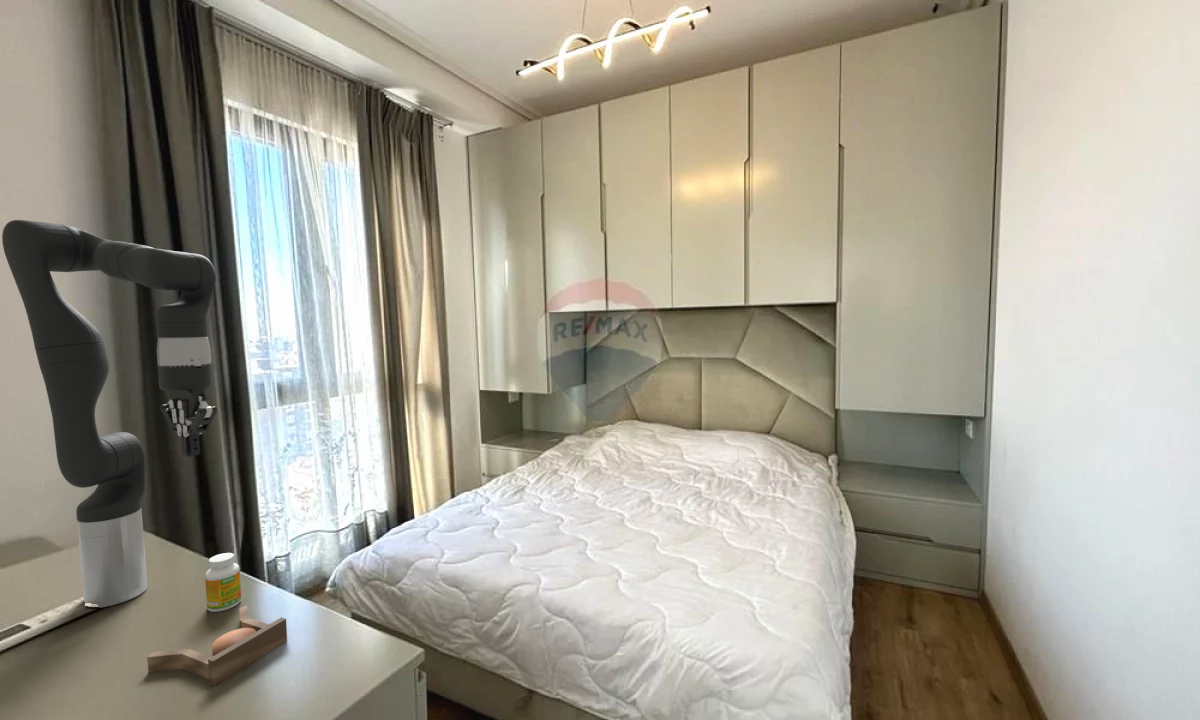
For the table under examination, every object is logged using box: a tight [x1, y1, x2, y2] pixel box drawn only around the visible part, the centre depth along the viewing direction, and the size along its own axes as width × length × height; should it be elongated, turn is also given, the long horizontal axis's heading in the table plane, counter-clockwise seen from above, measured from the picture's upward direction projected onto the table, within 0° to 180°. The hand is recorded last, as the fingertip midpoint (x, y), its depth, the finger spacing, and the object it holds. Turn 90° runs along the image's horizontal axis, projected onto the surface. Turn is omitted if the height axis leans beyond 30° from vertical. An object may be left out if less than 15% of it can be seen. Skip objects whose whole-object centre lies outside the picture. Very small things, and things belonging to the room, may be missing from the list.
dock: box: [146, 605, 288, 687], centre depth 83 cm, size 14×15×4 cm
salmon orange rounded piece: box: [211, 627, 256, 657], centre depth 83 cm, size 6×6×2 cm
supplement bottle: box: [204, 552, 242, 613], centre depth 97 cm, size 5×5×10 cm
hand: (191, 455), depth 91 cm, fingers closed
